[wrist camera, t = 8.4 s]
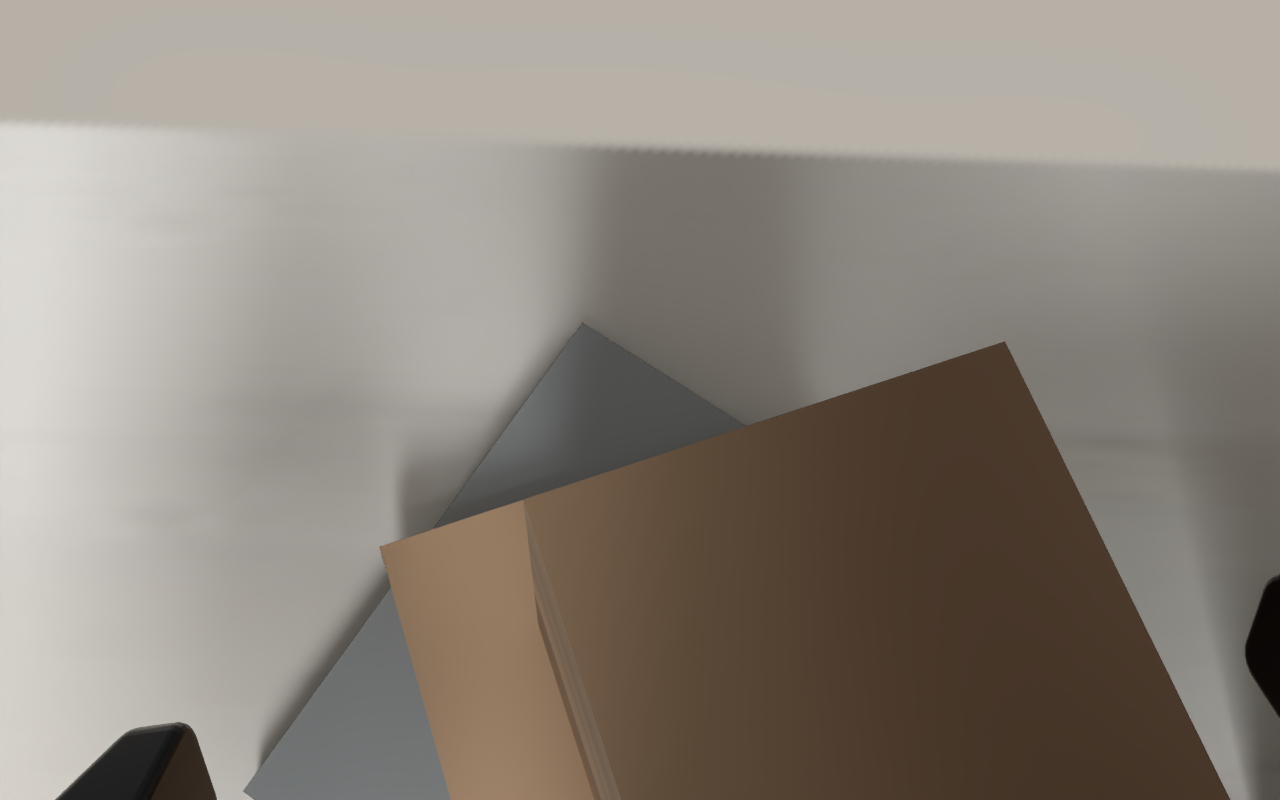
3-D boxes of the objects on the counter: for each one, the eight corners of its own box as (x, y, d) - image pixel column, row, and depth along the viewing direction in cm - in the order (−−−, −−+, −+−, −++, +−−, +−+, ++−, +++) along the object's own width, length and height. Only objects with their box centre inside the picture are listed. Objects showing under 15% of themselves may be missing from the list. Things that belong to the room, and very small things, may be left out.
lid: (521, 1026, 13) (456, 1848, 4) (388, 554, 15) (115, 299, 6) (957, 836, 15) (1727, 1087, 5) (786, 423, 16) (1117, 35, 7)
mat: (757, 1145, 14) (766, 1164, 13) (254, 788, 14) (243, 792, 14) (1015, 609, 16) (1031, 606, 16) (581, 335, 17) (582, 322, 17)
